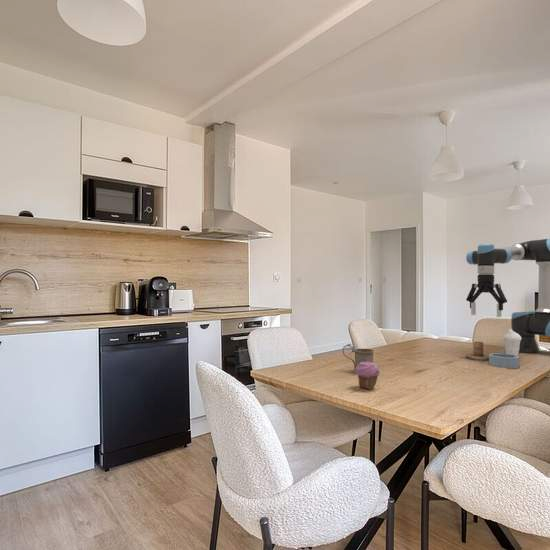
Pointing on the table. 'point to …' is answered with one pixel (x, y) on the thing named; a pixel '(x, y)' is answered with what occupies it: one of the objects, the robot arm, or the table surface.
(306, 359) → the table surface
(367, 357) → the mug
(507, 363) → the bowl
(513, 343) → the soft serve ice cream cone
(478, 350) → the lid
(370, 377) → the cupcake
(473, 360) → the mat
